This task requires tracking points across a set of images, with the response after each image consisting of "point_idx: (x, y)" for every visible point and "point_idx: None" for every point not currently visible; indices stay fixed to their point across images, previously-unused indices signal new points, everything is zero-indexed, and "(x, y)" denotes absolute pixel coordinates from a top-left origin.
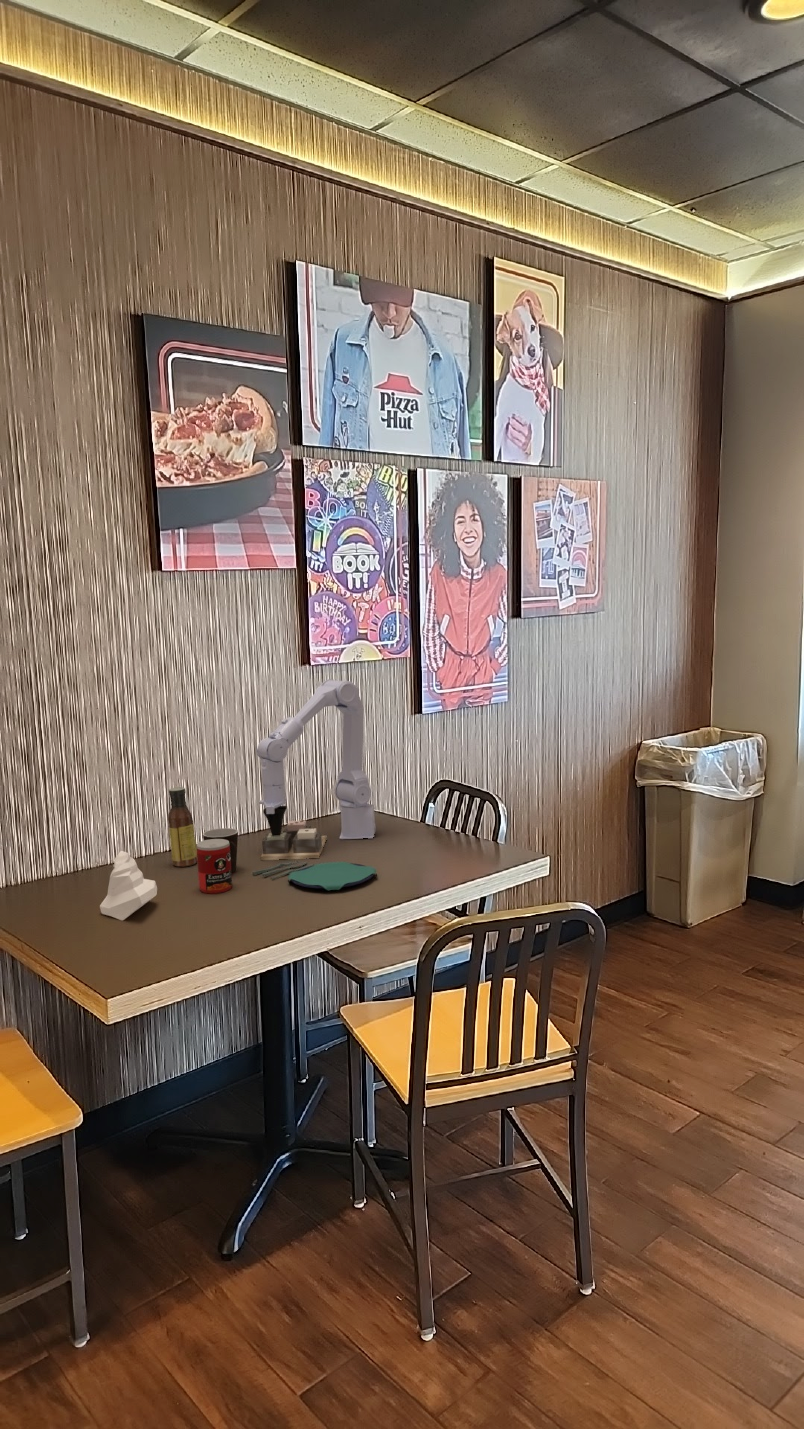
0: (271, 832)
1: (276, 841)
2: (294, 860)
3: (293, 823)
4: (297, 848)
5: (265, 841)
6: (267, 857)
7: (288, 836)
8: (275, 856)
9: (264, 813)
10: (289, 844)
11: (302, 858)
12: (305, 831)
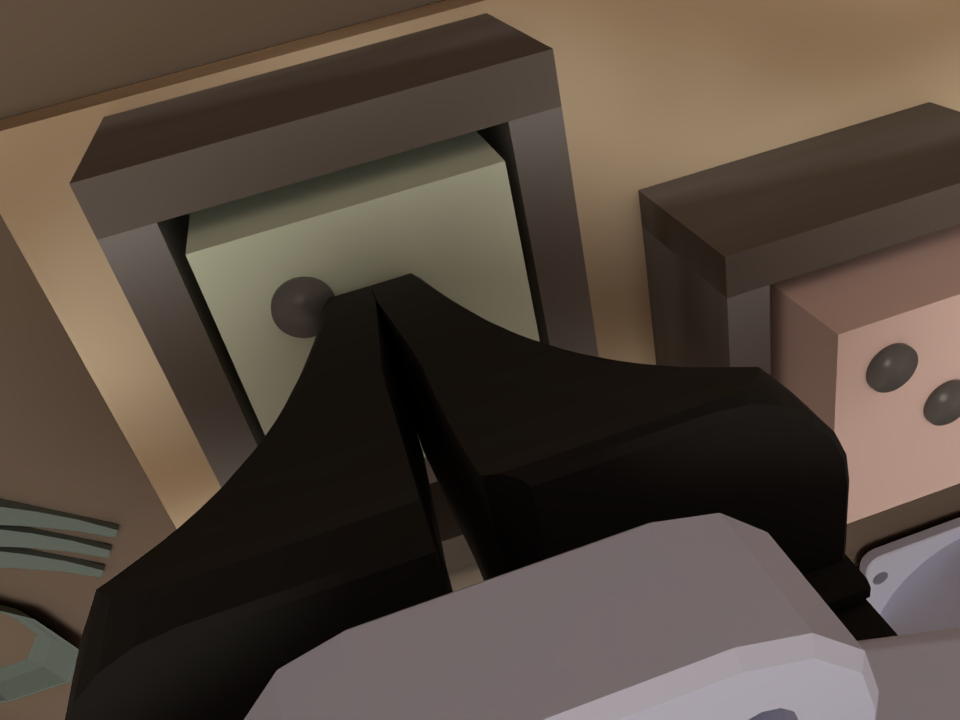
0: (325, 314)
1: (184, 404)
2: (113, 535)
3: (917, 377)
4: None
5: (100, 240)
6: (19, 234)
7: None
8: (74, 339)
9: (91, 623)
10: None
11: None
12: None
